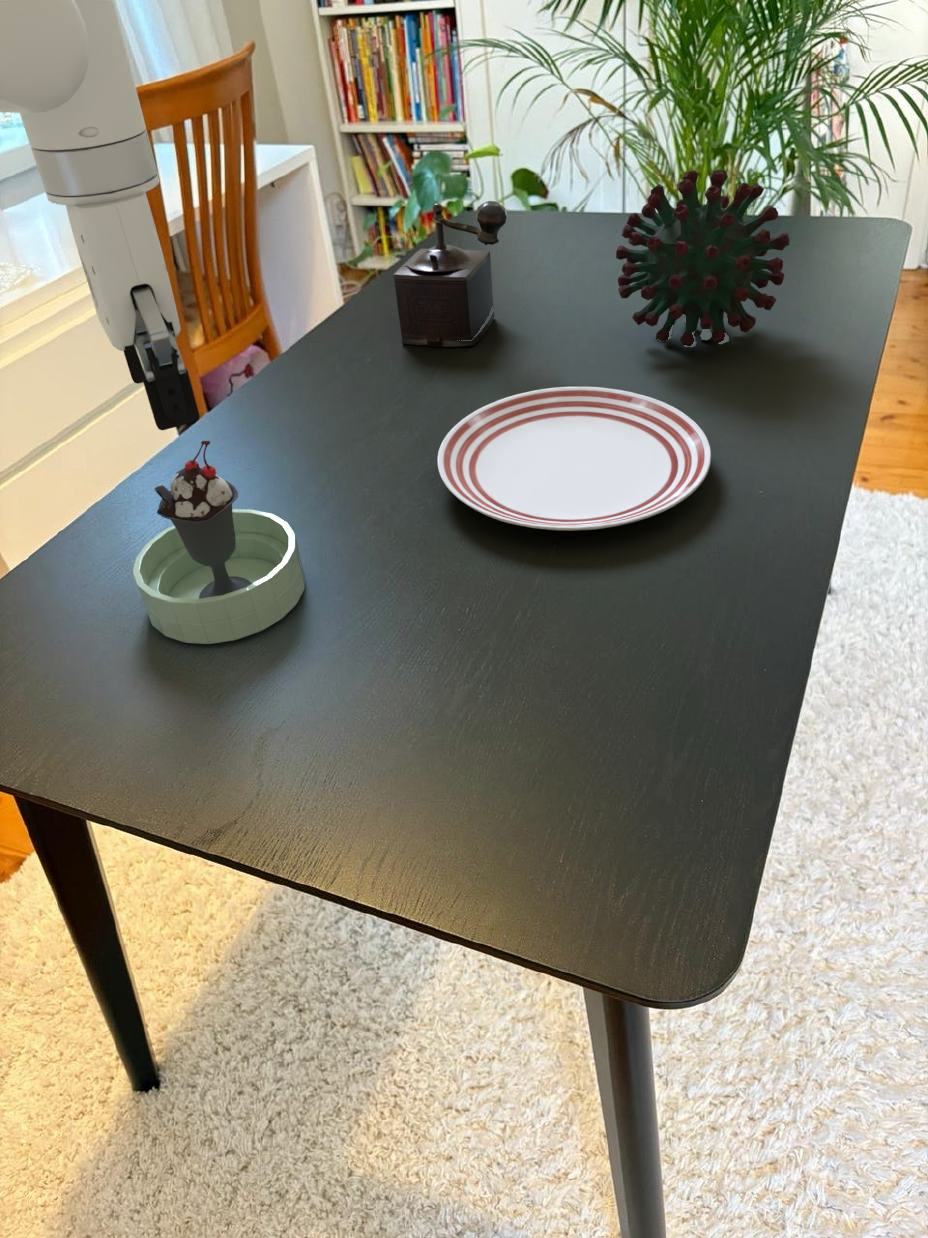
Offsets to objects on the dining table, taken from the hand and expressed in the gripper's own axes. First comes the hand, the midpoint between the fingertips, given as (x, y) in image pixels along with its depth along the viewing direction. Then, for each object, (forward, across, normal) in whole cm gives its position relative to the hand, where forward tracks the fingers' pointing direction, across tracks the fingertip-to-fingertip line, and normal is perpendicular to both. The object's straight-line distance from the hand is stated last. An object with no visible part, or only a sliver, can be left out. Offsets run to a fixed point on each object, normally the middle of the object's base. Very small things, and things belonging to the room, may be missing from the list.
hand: (165, 400), depth 76 cm
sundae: (+20, 0, 0) cm, 20 cm away
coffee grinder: (+19, -41, +44) cm, 64 cm away
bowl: (+20, 0, 0) cm, 20 cm away
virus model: (+19, -21, +67) cm, 73 cm away
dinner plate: (+20, -1, +38) cm, 42 cm away
